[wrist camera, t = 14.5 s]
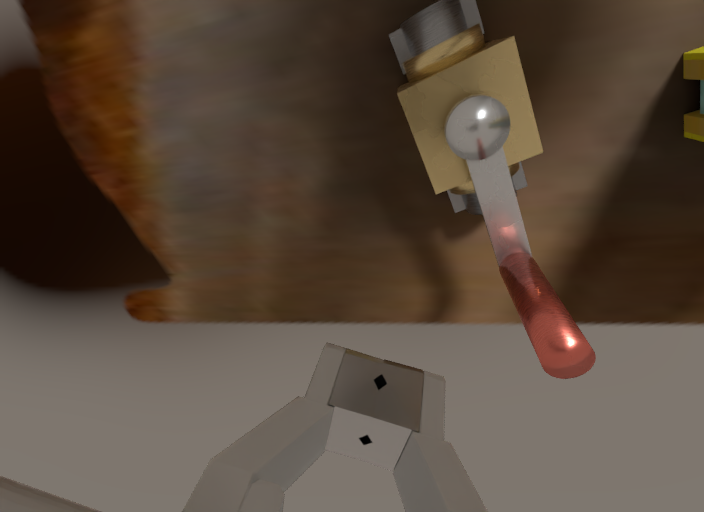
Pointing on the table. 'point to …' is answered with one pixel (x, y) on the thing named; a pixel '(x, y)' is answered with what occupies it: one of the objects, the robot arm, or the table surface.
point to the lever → (514, 236)
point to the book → (700, 67)
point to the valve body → (460, 92)
